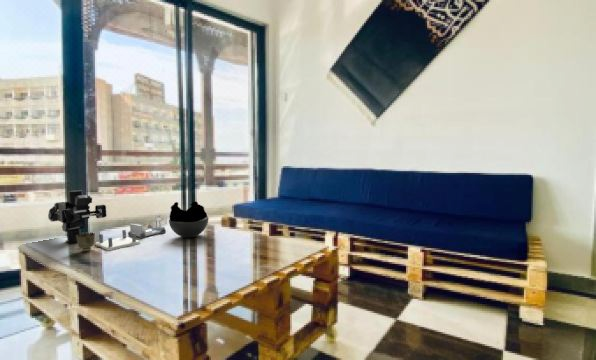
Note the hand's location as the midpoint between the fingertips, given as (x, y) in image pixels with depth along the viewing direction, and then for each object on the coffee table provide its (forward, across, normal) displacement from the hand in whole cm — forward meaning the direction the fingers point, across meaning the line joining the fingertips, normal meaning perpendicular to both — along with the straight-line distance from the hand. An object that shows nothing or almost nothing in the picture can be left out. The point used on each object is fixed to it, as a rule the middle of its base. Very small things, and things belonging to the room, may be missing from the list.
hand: (90, 215), depth 157 cm
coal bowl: (+14, +42, +17) cm, 47 cm away
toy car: (-10, +32, +17) cm, 38 cm away
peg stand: (-2, +12, +17) cm, 21 cm away
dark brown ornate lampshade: (-2, -2, +17) cm, 17 cm away
